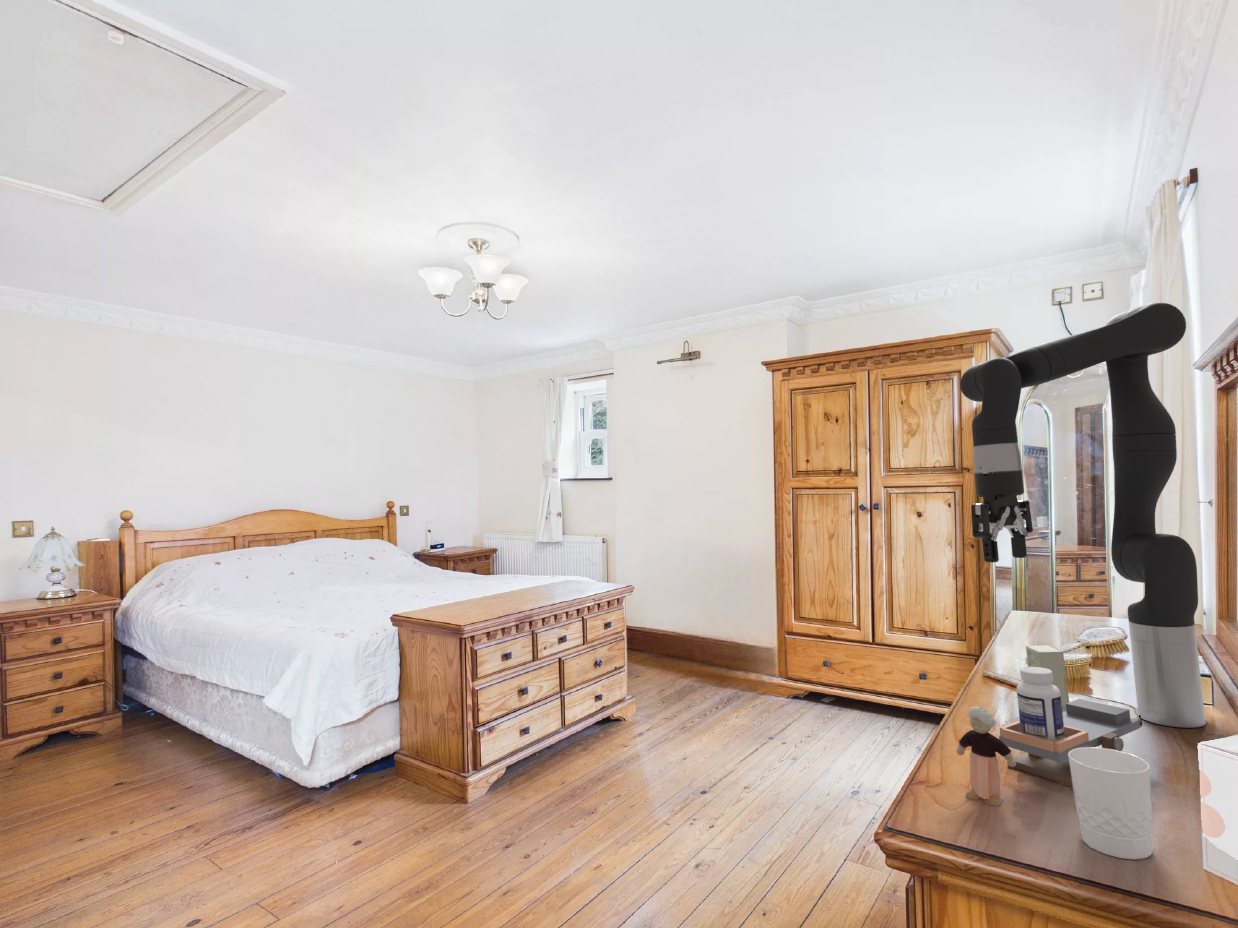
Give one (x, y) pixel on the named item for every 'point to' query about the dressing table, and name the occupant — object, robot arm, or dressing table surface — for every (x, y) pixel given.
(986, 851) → the dressing table surface
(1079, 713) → the balance beam
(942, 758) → the dressing table surface
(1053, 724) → the pill bottle
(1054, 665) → the skincare box
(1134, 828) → the white cup
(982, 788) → the grandmother figurine
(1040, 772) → the balance stand
